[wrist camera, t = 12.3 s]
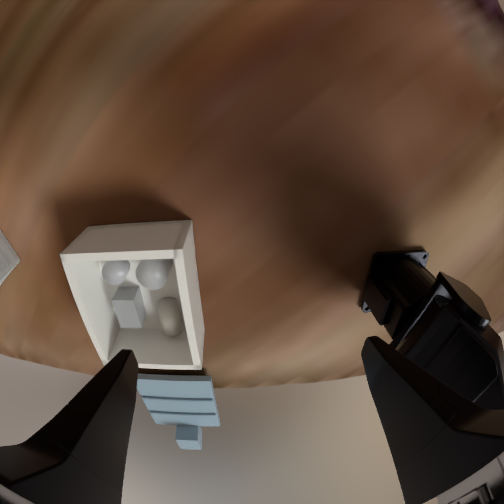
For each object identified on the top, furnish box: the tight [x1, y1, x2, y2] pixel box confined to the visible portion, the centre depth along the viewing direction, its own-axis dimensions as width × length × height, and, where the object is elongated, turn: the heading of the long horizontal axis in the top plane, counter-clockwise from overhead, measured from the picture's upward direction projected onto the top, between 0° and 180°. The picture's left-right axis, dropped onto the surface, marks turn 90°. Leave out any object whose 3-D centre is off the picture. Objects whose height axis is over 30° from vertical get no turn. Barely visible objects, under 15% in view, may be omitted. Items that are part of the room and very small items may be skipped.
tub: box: [60, 220, 205, 370], centre depth 21 cm, size 11×9×5 cm
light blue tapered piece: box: [137, 373, 220, 450], centre depth 30 cm, size 14×9×4 cm, turn 0°
